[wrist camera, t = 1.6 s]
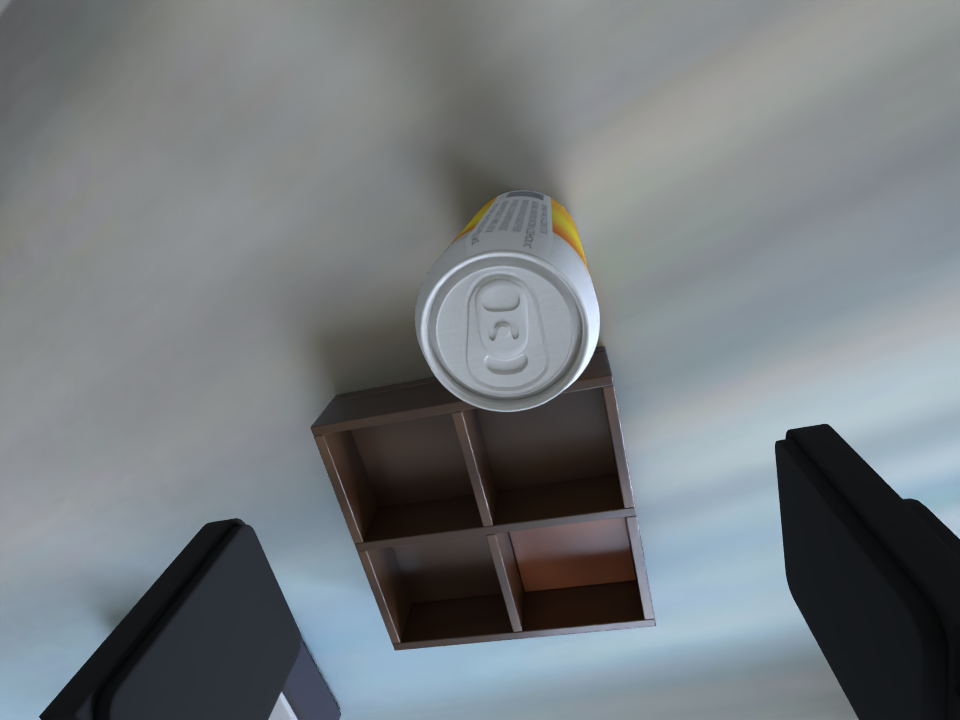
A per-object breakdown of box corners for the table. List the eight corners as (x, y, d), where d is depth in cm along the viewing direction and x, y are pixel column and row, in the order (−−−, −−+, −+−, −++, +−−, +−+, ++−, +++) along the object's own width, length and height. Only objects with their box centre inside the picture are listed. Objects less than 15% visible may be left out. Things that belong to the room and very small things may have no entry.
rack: (335, 394, 37) (309, 427, 33) (604, 345, 34) (612, 374, 30) (409, 601, 42) (394, 650, 38) (645, 576, 39) (656, 626, 35)
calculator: (89, 680, 44) (259, 661, 40) (130, 633, 48) (288, 612, 44) (160, 778, 47) (322, 769, 43) (192, 727, 51) (343, 715, 47)
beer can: (473, 303, 34) (420, 426, 20) (462, 193, 31) (394, 245, 17) (580, 296, 33) (604, 419, 19) (576, 183, 31) (600, 229, 17)
